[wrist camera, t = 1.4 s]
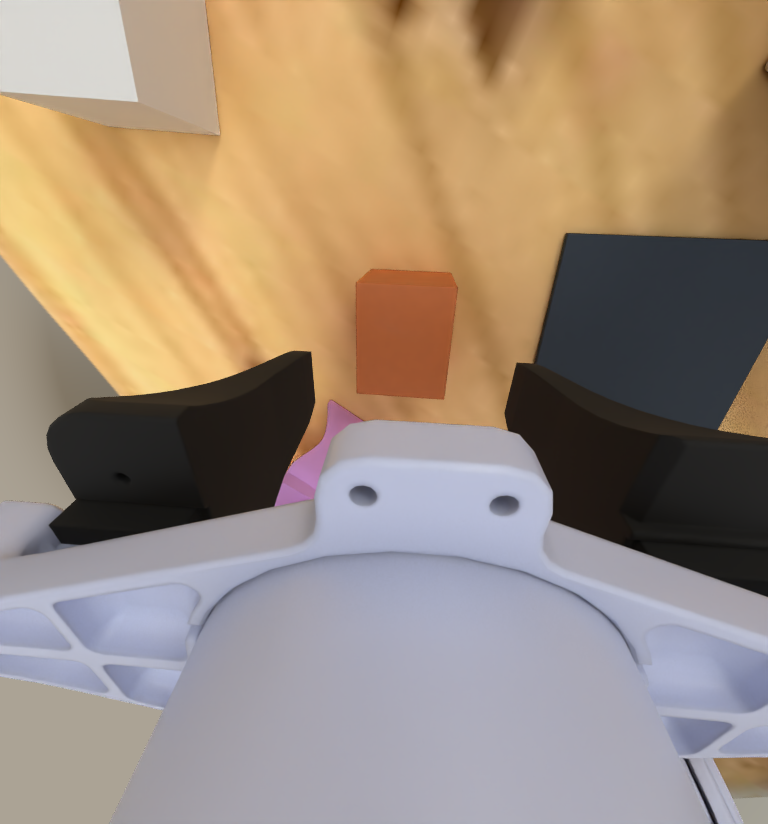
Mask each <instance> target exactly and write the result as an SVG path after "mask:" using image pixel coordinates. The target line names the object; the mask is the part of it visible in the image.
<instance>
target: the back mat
mask: <svg viewBox="0 0 768 824" xmlns="http://www.w3.org/2000/svg"><path fill="white" fill-rule="evenodd" d="M767 339H768V240H741V239H714V238H686V237H659V236H631V235H603V234H576V233H566V235H565V239H564V243H563V247H562V251H561V256H560V260H559V264H558V268H557V272H556V276H555V280H554V284H553V288H552V293H551V297H550V301H549V305H548V309H547V313H546V317H545V321H544V325H543V330H542V334H541V338H540V342H539V346H538V350H537V354H536V358H535V362H534V364H538V365H540V366H543V367H545V368H547V369H549V370H551V371H553V372H555V373H557V374H559V375H561V376H563V377H565V378H567V379H569V380H571V381H573V382H574V383H576V384H578V385H580V386H582V387H584V388H586V389H588V390H591V391H593V392H595V393H597V394H599V395H602V396H604V397H606V398H608V399H611V400H613V401H616V402H618V403H621V404H624V405H626V406H629V407H632V408H634V409H637V410H640V411H644V412H647V413H650V414H653V415H657V416H660V417H664V418H667V419H671V420H675V421H679V422H683V423H687V424H691V425H696V426H700V427H705V428H710V429H714V430H718V428H719V426H720V424H721V423H722V421H723V419H724V417H725V415H726V413H727V412H728V410H729V408H730V406H731V404H732V403H733V401H734V399H735V397H736V395H737V394H738V392H739V390H740V388H741V386H742V384H743V383H744V381H745V379H746V377H747V375H748V374H749V372H750V370H751V368H752V366H753V365H754V363H755V361H756V359H757V357H758V355H759V354H760V352H761V350H762V348H763V346H764V345H765V343H766V341H767Z"/></svg>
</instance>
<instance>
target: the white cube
mask: <svg viewBox="0 0 768 824" xmlns="http://www.w3.org/2000/svg"><path fill="white" fill-rule="evenodd" d="M0 95H3V96H7V97H10V98H14V99H17V100H20V101H24V102H27V103H31V104H34V105H37V106H41V107H44V108H48V109H51V110H54V111H58V112H61V113H65V114H68V115H71V116H75V117H78V118H82V119H85V120H88V121H92V122H95V123H99V124H102V125H105V126H109V127H119V128H132V129H144V130H157V131H169V132H182V133H195V134H207V135H220V129H219V120H218V111H217V102H216V93H215V85H214V76H213V67H212V58H211V49H210V40H209V31H208V22H207V14H206V5H205V0H0Z"/></svg>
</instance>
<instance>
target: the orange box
mask: <svg viewBox="0 0 768 824" xmlns="http://www.w3.org/2000/svg"><path fill="white" fill-rule="evenodd" d="M457 291H458V287H457V285H456V283H455V281H454V279H453V277H452V274H451V273H444V272H422V271H400V270H378V269H371V270H370V271H369V272H367V273H366V274H365V275H364V276H363V277H362V278H361V279H360V280H359V281H357V282H356V362H357V393H360V394H374V395H388V396H401V397H415V398H429V399H444V396H445V388H446V380H447V372H448V364H449V356H450V348H451V339H452V331H453V323H454V315H455V307H456V299H457Z"/></svg>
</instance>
